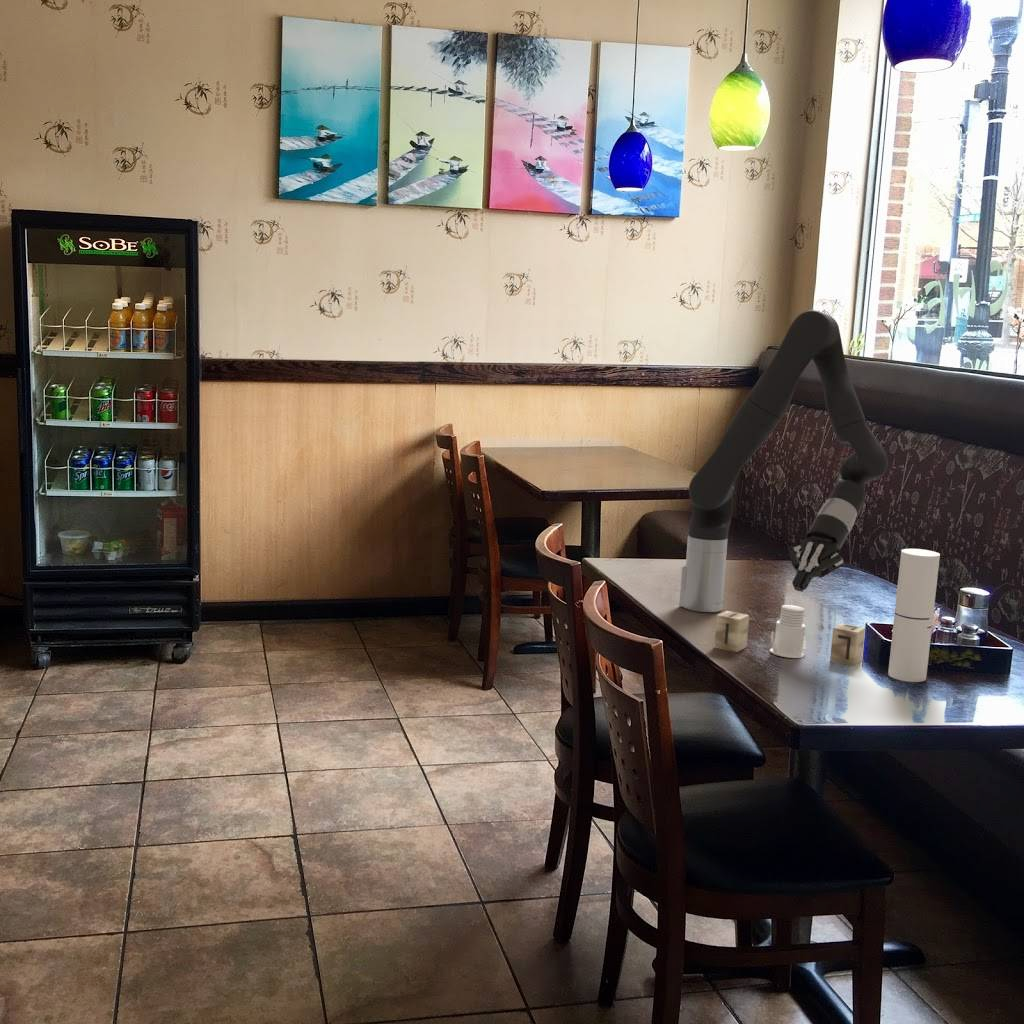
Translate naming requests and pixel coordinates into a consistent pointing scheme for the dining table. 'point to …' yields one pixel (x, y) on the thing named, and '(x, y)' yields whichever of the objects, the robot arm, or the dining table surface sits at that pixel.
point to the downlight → (789, 633)
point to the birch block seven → (847, 644)
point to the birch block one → (731, 631)
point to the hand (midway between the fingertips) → (797, 588)
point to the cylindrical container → (913, 614)
